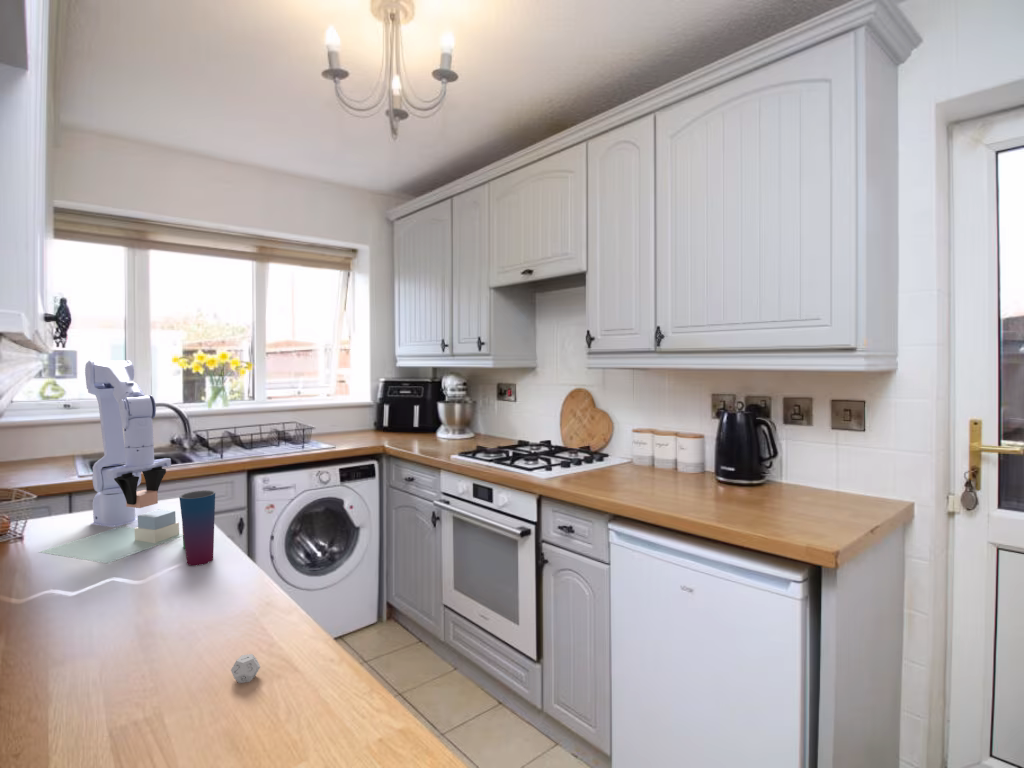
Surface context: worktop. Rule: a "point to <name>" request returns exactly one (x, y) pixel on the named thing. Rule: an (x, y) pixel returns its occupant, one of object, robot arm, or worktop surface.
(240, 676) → the game die
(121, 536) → the baseplate
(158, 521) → the brick
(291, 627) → the worktop surface
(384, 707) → the worktop surface
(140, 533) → the brick
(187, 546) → the cup
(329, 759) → the worktop surface
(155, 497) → the brick
